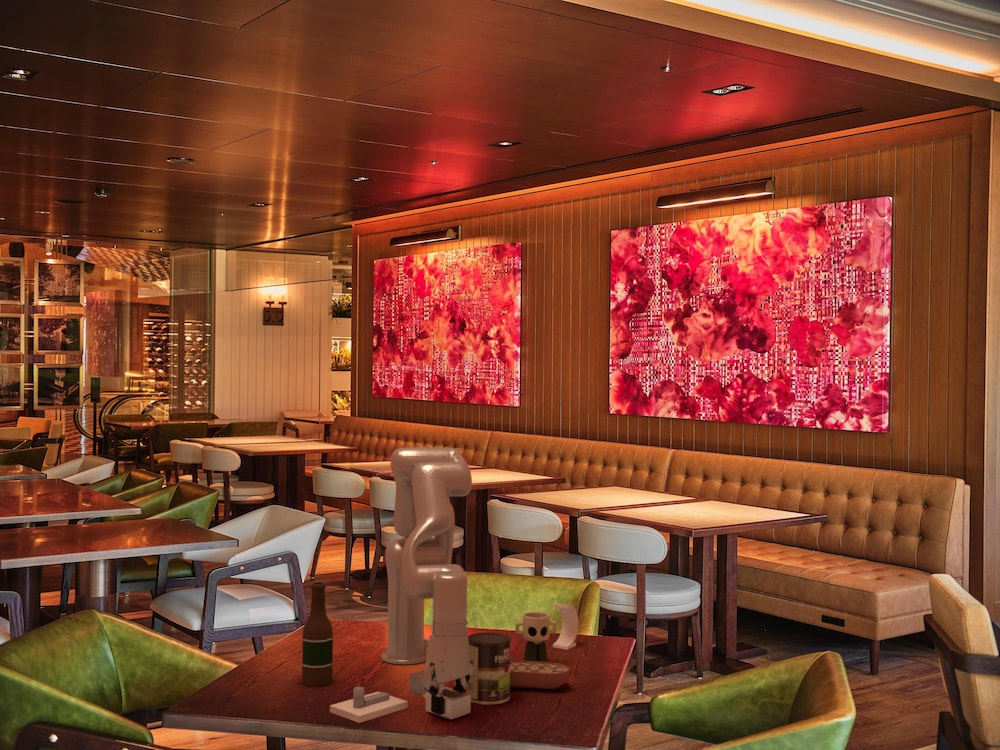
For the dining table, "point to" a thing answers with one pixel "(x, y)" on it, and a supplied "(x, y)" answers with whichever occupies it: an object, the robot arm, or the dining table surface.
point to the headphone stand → (567, 627)
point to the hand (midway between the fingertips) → (447, 708)
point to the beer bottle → (317, 641)
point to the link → (452, 703)
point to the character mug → (536, 634)
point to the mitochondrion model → (537, 674)
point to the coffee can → (489, 668)
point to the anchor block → (418, 683)
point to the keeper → (367, 705)
